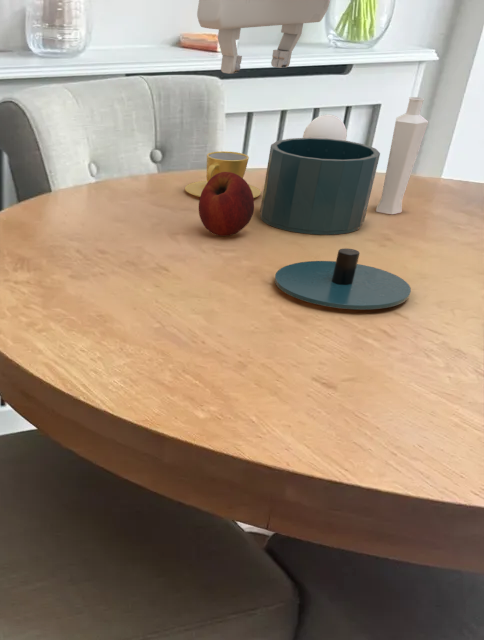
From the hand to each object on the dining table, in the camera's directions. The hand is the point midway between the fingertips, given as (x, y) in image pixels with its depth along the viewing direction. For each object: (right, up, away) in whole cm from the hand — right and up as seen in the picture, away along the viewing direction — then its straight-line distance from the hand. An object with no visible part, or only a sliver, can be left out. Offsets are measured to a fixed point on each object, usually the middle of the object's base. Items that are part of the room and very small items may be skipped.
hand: (255, 69), depth 107 cm
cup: (+3, 0, +33) cm, 33 cm away
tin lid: (+10, -28, -3) cm, 29 cm away
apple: (-1, -14, +15) cm, 21 cm away
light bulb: (+18, +1, +34) cm, 39 cm away
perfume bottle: (+27, -6, +26) cm, 38 cm away
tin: (+13, -9, +21) cm, 27 cm away
